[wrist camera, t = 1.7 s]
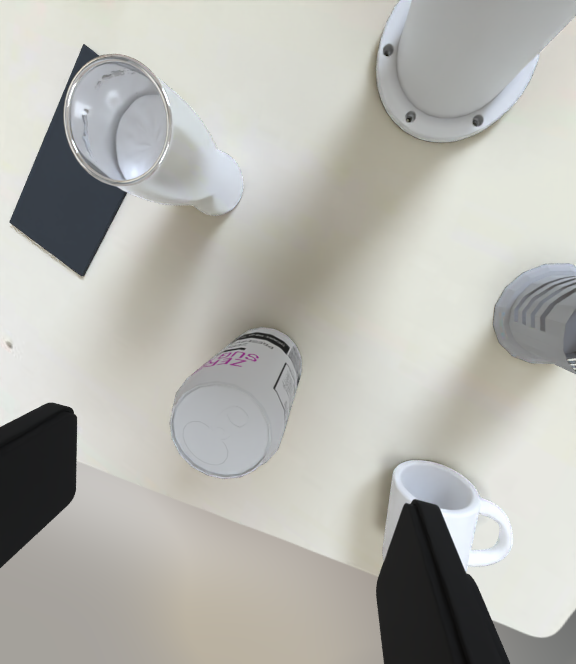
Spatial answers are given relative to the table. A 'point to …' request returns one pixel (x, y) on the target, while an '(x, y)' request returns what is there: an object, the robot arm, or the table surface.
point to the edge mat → (66, 196)
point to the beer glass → (146, 138)
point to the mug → (448, 508)
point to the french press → (540, 316)
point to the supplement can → (237, 404)
